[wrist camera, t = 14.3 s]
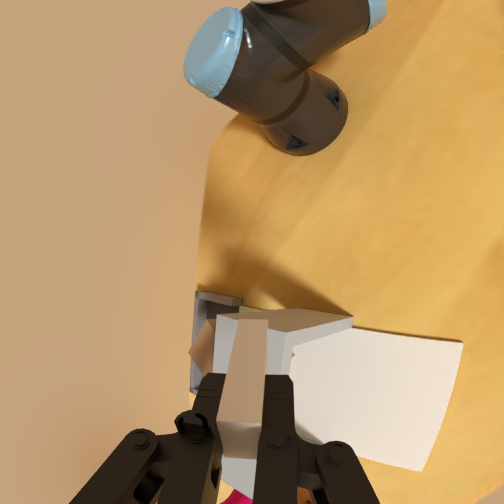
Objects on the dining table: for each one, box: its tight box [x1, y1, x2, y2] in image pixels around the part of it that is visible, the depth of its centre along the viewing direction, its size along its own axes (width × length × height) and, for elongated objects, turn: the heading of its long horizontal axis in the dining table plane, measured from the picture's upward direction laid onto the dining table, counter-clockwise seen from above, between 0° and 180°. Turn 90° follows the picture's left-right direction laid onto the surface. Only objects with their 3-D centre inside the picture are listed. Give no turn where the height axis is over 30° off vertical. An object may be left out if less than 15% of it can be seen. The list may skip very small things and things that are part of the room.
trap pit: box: [190, 291, 242, 395], centre depth 52 cm, size 10×21×2 cm, turn 173°
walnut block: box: [188, 319, 295, 376], centre depth 41 cm, size 9×7×11 cm
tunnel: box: [213, 308, 464, 500], centre depth 28 cm, size 26×22×16 cm
